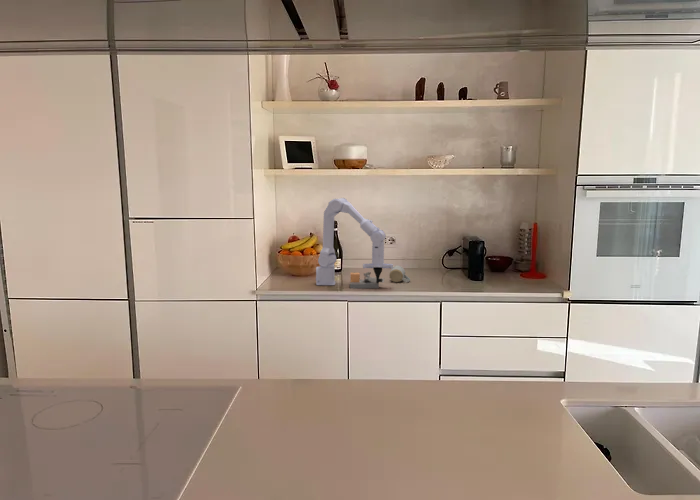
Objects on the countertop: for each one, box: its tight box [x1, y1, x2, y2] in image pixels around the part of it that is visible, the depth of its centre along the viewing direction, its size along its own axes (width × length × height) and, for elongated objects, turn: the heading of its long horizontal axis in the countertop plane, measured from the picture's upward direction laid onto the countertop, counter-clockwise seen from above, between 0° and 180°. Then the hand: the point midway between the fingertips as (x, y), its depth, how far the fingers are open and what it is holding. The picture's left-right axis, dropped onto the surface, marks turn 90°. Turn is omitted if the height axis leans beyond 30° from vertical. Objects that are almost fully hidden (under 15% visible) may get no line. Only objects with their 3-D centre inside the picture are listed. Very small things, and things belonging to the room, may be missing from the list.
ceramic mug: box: [388, 265, 411, 283], centre depth 266 cm, size 11×8×8 cm
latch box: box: [349, 279, 380, 289], centre depth 255 cm, size 14×11×2 cm
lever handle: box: [363, 271, 385, 283], centre depth 254 cm, size 5×10×4 cm, turn 60°
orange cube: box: [350, 272, 361, 282], centre depth 256 cm, size 4×4×4 cm
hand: (377, 282), depth 250 cm, fingers closed, pressing on lever handle
